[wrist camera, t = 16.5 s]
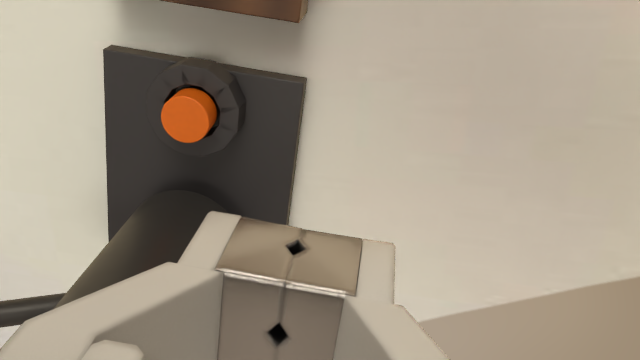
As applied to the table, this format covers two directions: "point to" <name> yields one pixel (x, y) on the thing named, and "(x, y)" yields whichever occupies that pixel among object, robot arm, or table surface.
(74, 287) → the kettle
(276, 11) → the dial panel
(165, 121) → the button
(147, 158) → the button base
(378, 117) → the table surface
